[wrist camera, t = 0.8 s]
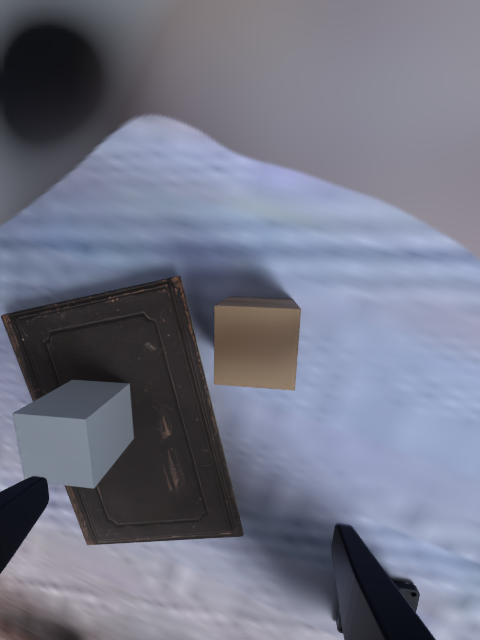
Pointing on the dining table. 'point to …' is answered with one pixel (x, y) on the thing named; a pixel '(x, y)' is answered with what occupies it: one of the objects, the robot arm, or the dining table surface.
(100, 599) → the dining table surface
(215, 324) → the walnut cube
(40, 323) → the hardcover book
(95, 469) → the grey block
